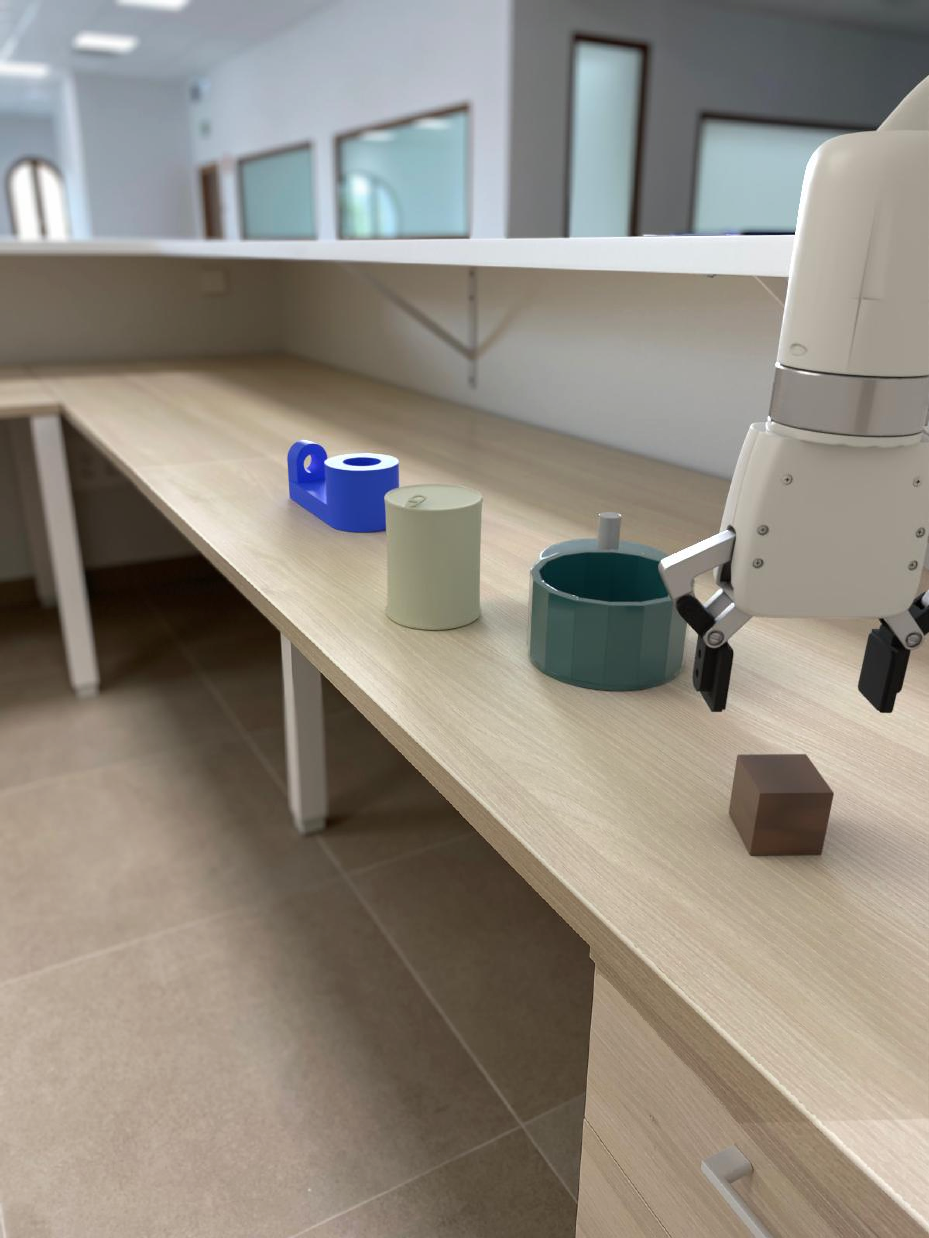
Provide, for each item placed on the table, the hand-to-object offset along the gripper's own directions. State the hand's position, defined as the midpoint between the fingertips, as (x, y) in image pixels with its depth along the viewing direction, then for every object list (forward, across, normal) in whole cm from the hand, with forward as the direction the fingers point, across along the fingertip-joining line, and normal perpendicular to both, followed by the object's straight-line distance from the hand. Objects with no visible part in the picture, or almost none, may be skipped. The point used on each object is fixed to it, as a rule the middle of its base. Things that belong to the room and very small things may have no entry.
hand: (792, 701), depth 54 cm
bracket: (+10, +33, -70) cm, 78 cm away
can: (+10, +21, -36) cm, 43 cm away
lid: (+8, +2, -48) cm, 49 cm away
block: (+9, 0, 0) cm, 9 cm away
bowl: (+9, +6, -26) cm, 28 cm away
